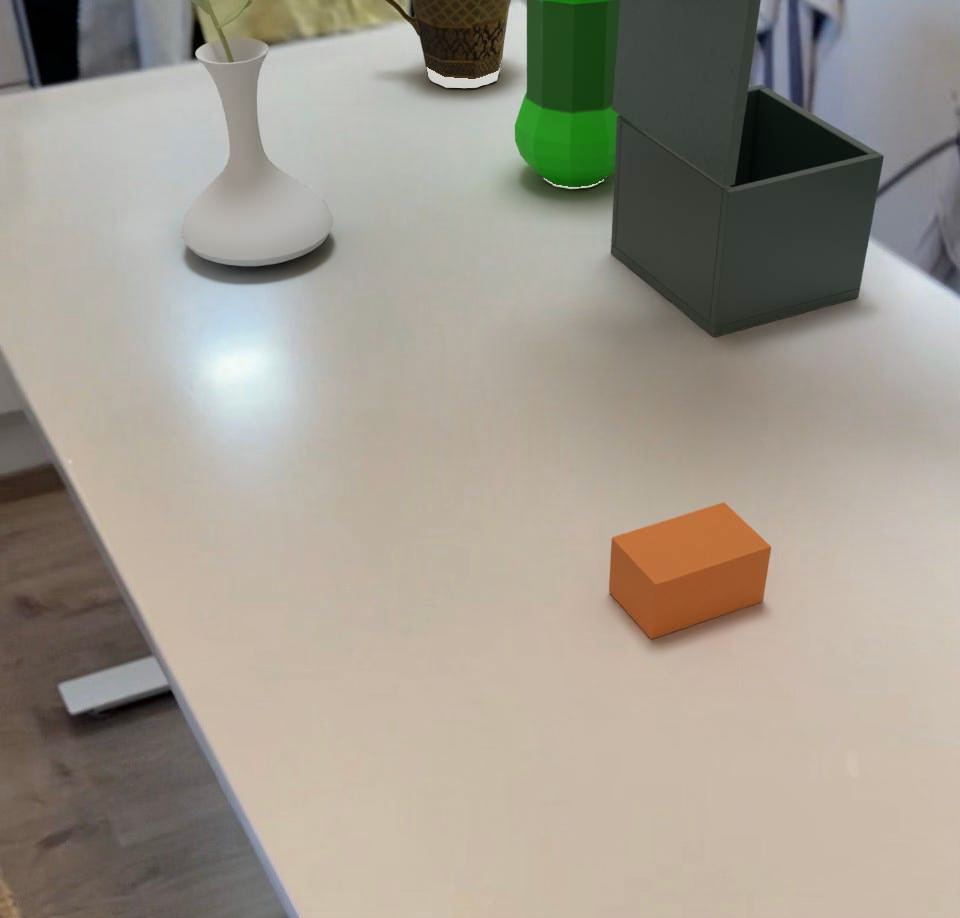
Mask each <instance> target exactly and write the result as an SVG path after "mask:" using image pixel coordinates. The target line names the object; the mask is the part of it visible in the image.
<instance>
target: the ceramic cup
mask: <svg viewBox="0 0 960 918" xmlns="http://www.w3.org/2000/svg"><path fill="white" fill-rule="evenodd" d="M384 1H385V2H387V3H388V4H389V5H390V6H392V7H393V8H394V10H396V11H397V12H398V13H399V14H400V15H401V17H402V18H403V20H405V21H406V22H408V23H409V24H410V25H411V26H412V28H413V30H414V31H415V34H417V36H418V37H419V42H420V46H421V50H422V54H423V60H424V65H425V68H426V67H428V68H429V69H431V70H433V71H435V72H436V73H438V74H440V75H442V76H444V77H454V78H468V79H476V78H480V77H483V76H486V75H488V74H491V73H494V72H496V71H498V70H499V68H500V64H501V65H502V63H501V61H502V62H503V57H504V48H505V47H504V46H505V40H506V32H507V25H508V17H509V11H510V6H511V2H512V0H411V2H412V8H413V13H414V17H412V16H410V15H409V14H407V13H406V12H405V10H404V9H403V8H402V6H401V5H400V4H399V3H397V1H395V0H384Z"/></svg>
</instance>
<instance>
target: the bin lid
mask: <svg viewBox="0 0 960 918" xmlns="http://www.w3.org/2000/svg"><path fill="white" fill-rule="evenodd" d="M761 2H762V0H620V13H619V26H618V39H617V52H616V65H615V78H614V91H613V104H612V110H613V111H615V112H616V113H618V114H619V115H621V116H622V117H624V118H625V119H627V120H628V121H630V122H631V123H632V124H634V125H635V126H637V127H638V128H640V129H641V130H643V131H644V132H646V133H647V134H649V135H650V136H651V137H653V138H654V139H656V140H657V141H659V142H660V143H662V144H663V145H665V146H666V147H667V148H669V149H670V150H672V151H673V152H675V153H676V154H678V155H679V156H681V157H682V158H684V159H685V160H686V161H688V162H689V163H691V164H692V165H694V166H695V167H697V168H698V169H700V170H701V171H703V172H704V173H705V174H707V175H708V176H710V177H711V178H713V179H714V180H716V181H717V182H719V183H720V184H722V185H723V186H730V185H734V184H735V179H736V171H737V164H738V157H739V150H740V143H741V136H742V129H743V122H744V115H745V108H746V101H747V94H748V87H750V80H751V73H752V72H751V71H752V65H753V59H754V58H753V57H754V52H755V51H754V50H755V43H756V36H757V31H758V23H759V16H760V9H761Z"/></svg>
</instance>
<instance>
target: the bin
mask: <svg viewBox="0 0 960 918" xmlns="http://www.w3.org/2000/svg"><path fill="white" fill-rule="evenodd" d="M884 158H885V155H883V154H882V153H880V152H879V151H877V150H875V149H873V148H872V147H870V146H868V145H866V144H865V143H863V142H861V141H859V140H857V139H856V138H854V137H853V136H851V135H849V134H847V133H846V132H844V131H842V130H840V129H839V128H837V127H835V126H834V125H832V124H831V123H829V122H827V121H826V120H824V119H822V118H820V117H818V116H816V115H815V114H814V113H812V112H810V111H808V110H807V109H804V108H803V107H802V106H799V105H798V104H796V103H794V102H793V101H791V100H789V99H788V98H786V97H784V96H782V95H780V94H779V93H777V92H775V91H773V90H772V89H770V88H769V87H767V86H765V85H764V84H757V85H752V86H749V87H748V94H747V101H746V108H745V115H744V122H743V129H742V136H741V143H740V150H739V157H738V164H737V171H736V179H735V184H734V185H730V186H723V185H722V184H720V183H719V182H717V181H716V180H714V179H713V178H711V177H710V176H708V175H707V174H705V173H704V172H703V171H701V170H700V169H698V168H697V167H695V166H694V165H692V164H691V163H689V162H688V161H686V160H685V159H684V158H682V157H681V156H679V155H678V154H676V153H675V152H673V151H672V150H670V149H669V148H667V147H666V146H665V145H663V144H662V143H660V142H659V141H657V140H656V139H654V138H653V137H651V136H650V135H649V134H647V133H646V132H644V131H643V130H641V129H640V128H638V127H637V126H635V125H634V124H632V123H631V122H630V121H628V120H627V119H625V118H624V117H622V116H621V115H620V116H617V124H616V147H615V170H614V173H613V195H612V216H611V217H612V218H611V219H612V220H611V239H610V240H611V243H610V254H611V255H613V256H614V257H615V258H617V259H618V260H619V261H621V263H622V264H624V265H625V266H626V267H628V268H629V269H630V270H631V271H632V272H634V273H635V274H636V275H637V276H639V277H640V278H641V279H642V280H644V281H645V282H646V283H647V284H648V285H650V287H652V288H653V289H654V290H656V291H657V292H658V293H659V294H661V295H662V296H663V297H664V298H665V299H667V300H668V301H669V302H670V303H671V304H673V305H674V306H675V307H677V308H678V309H679V310H680V311H681V312H683V313H684V314H685V315H687V316H688V317H689V318H690V319H691V320H692V321H693V322H695V323H696V324H698V325H699V326H700V327H701V328H702V329H703V330H704V331H706V332H707V333H709V335H711V336H712V337H714V338H715V337H716V338H717V337H719V336H723V335H727V334H730V333H733V332H737V331H741V330H745V329H748V328H753V327H756V326H760V325H764V324H767V323H771V322H774V321H778V320H781V319H784V318H788V317H792V316H796V315H799V314H804V313H807V312H810V311H813V310H817V309H822V308H825V307H828V306H833V305H836V304H839V303H843V302H847V301H851V300H854V299H858V298H859V297H860V291H861V285H862V279H863V275H864V270H865V269H864V268H865V264H866V257H867V253H868V247H869V241H870V235H871V230H872V225H873V219H874V214H875V209H876V201H877V197H878V191H879V186H880V182H881V175H882V169H883V164H884ZM857 297H858V298H857Z"/></svg>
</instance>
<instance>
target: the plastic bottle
mask: <svg viewBox="0 0 960 918" xmlns="http://www.w3.org/2000/svg"><path fill="white" fill-rule="evenodd" d="M619 13H620V0H526V91H525V94H524V96H523V99H522V103H521V105H520V109H519V111H518V114H517V117H516V120H515V123H514V142H515V145H516V147H517V150H518V152H519V156H521V158H522V159H523V160H524V162H525V163H526V164H527V165H528V166H530V167H531V168H532V169H533V170H534V171H535V172H536V173H537V174H538V175H540V176H541V177H542V178H543V177H544V178H545V179H547V180H548V181H550V182H552V183H553V184H556V185H562V186H568V187H581V186H589V185H592V184H596V183H598V182H599V181H602V180H603V179H605V178H606V179H607V178H608V177H610V176H611V175H612V174H614V170H615V147H616V124H617V116H620V115H619V114H618V113H616V112H615V111H613V110H612V104H613V91H614V78H615V65H616V52H617V39H618V26H619ZM606 179H605V180H606Z"/></svg>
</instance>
